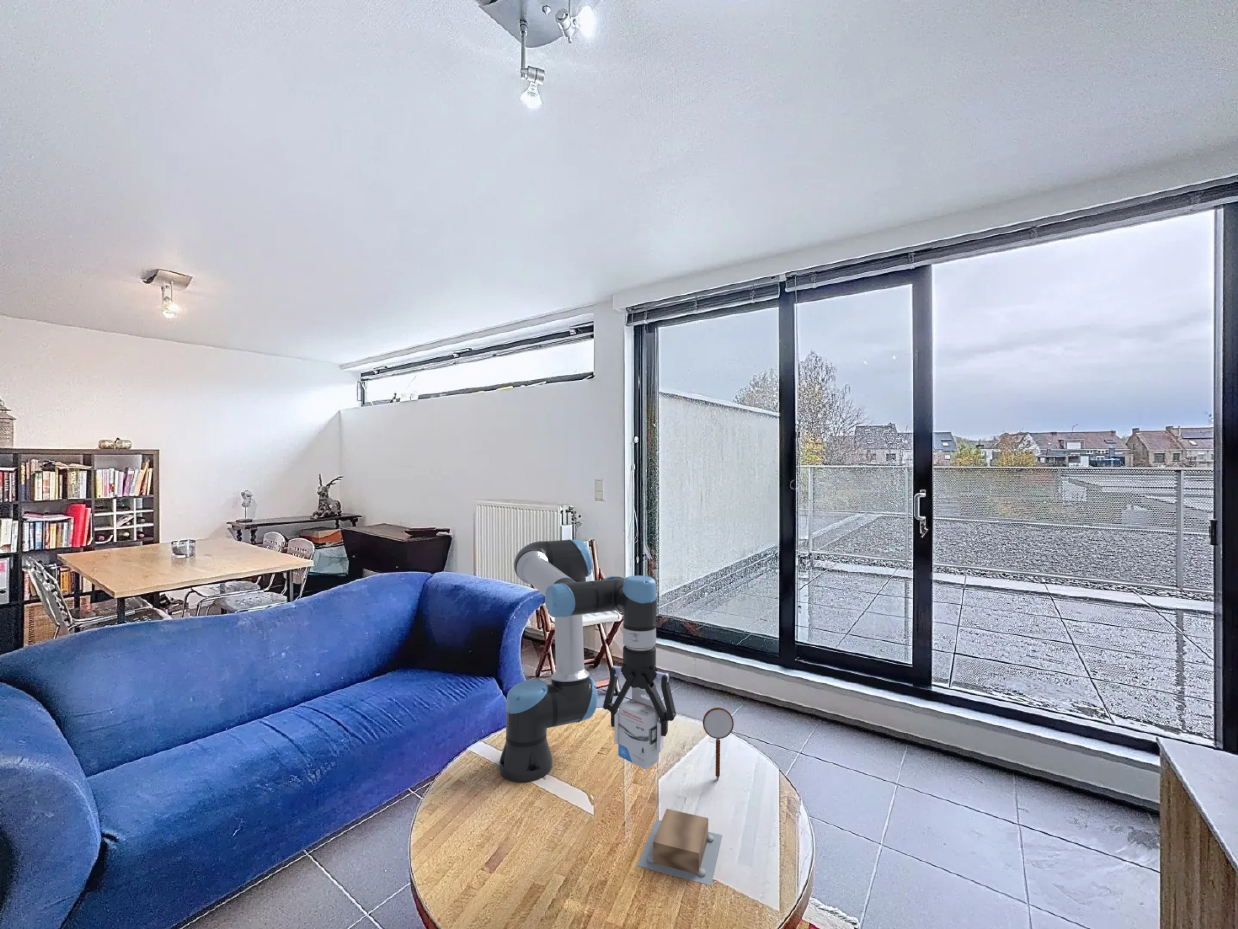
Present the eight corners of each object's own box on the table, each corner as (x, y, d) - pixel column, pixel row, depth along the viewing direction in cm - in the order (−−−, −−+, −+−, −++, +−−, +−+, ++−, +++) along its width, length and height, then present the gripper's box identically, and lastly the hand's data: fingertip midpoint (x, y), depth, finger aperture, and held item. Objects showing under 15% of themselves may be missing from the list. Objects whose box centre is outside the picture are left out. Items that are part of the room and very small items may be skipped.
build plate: (636, 871, 114) (637, 863, 114) (656, 824, 129) (656, 817, 129) (711, 891, 108) (711, 883, 108) (722, 840, 124) (722, 833, 124)
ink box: (617, 756, 121) (617, 691, 121) (631, 748, 124) (631, 685, 125) (645, 770, 115) (646, 702, 115) (659, 762, 119) (660, 695, 119)
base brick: (652, 862, 115) (653, 842, 115) (666, 827, 126) (666, 808, 126) (698, 874, 111) (698, 853, 111) (708, 837, 123) (708, 818, 123)
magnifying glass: (732, 778, 149) (733, 706, 149) (733, 781, 147) (734, 709, 147) (701, 777, 149) (702, 705, 149) (702, 780, 147) (703, 708, 148)
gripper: (588, 644, 121) (587, 744, 120) (682, 657, 113) (682, 763, 112) (600, 635, 128) (600, 729, 127) (690, 646, 120) (690, 746, 119)
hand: (638, 745), depth 120 cm, fingers closed on ink box, 9 cm apart
